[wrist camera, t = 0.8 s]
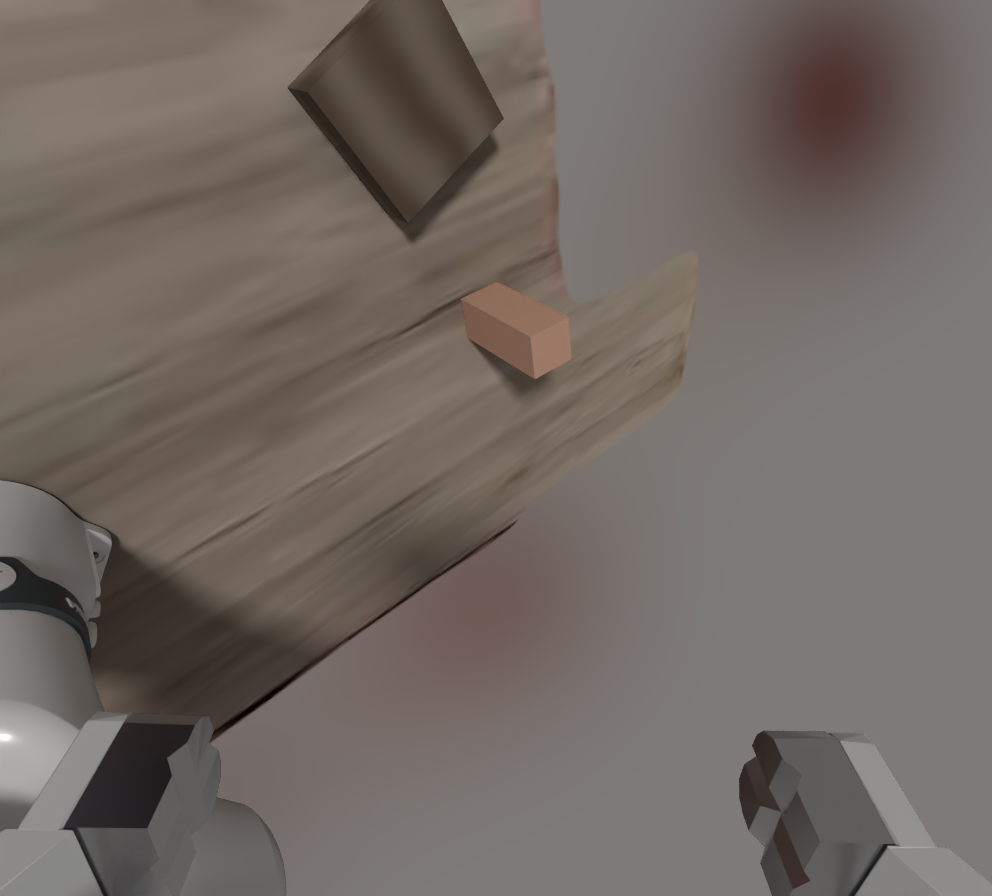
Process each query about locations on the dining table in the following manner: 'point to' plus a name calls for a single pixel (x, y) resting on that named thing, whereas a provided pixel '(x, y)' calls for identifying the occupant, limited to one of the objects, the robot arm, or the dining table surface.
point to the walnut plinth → (399, 100)
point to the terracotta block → (517, 329)
